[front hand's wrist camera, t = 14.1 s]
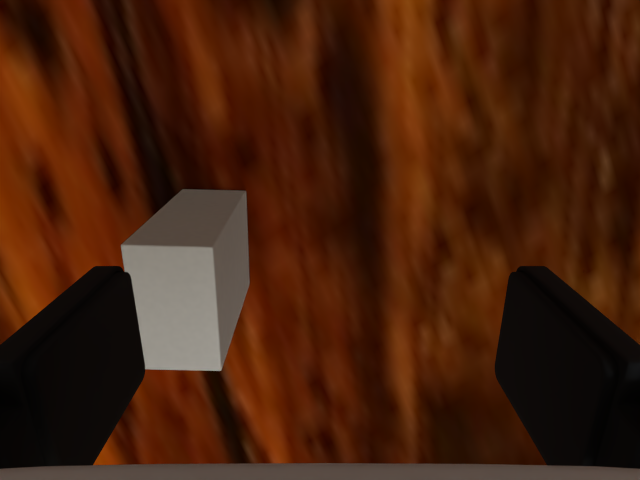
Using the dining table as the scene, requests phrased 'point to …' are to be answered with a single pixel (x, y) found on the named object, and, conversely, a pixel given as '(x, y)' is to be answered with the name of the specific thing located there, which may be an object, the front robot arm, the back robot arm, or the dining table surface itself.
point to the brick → (190, 278)
